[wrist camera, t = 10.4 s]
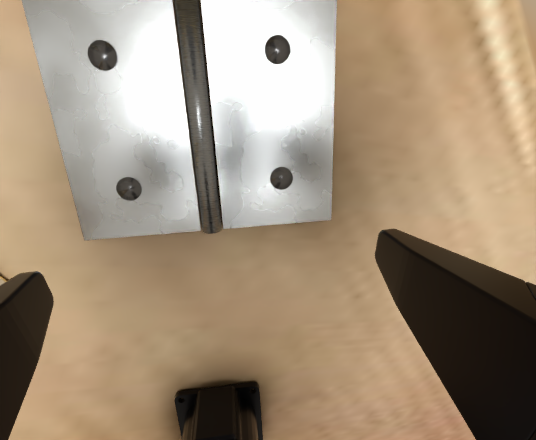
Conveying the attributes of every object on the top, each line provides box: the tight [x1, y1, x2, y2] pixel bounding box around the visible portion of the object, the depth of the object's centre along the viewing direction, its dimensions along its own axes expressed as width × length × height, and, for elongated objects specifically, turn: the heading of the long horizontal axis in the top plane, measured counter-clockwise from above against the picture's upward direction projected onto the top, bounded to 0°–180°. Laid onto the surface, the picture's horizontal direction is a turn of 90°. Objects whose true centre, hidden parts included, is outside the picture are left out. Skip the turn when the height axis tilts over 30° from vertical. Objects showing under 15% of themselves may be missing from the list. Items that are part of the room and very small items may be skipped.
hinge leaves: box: [22, 0, 337, 240], centre depth 17 cm, size 21×15×2 cm
